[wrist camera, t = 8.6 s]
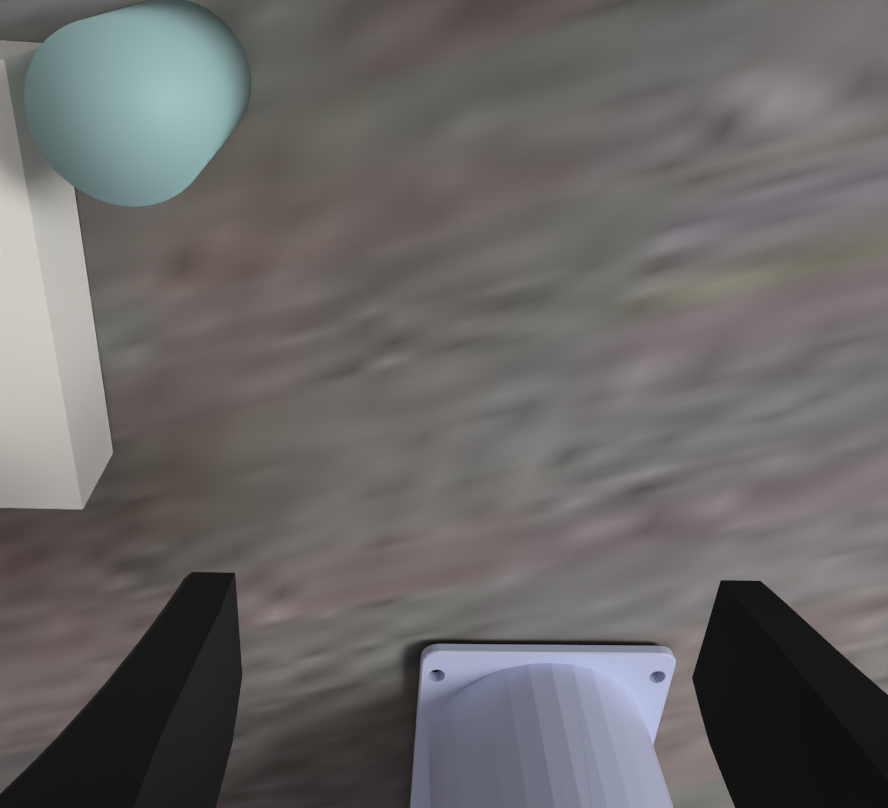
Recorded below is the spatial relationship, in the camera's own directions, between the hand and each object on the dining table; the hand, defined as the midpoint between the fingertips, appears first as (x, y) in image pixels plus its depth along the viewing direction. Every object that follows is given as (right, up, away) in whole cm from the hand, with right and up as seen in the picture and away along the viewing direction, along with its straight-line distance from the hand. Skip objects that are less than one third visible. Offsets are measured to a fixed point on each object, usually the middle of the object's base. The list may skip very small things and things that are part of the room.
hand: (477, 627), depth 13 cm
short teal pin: (-6, +10, +5) cm, 13 cm away
